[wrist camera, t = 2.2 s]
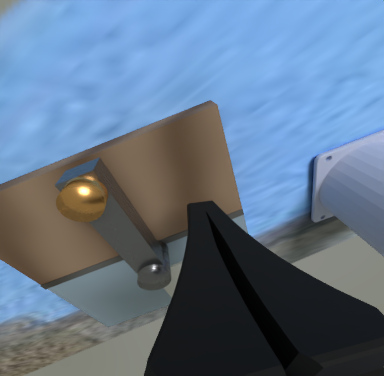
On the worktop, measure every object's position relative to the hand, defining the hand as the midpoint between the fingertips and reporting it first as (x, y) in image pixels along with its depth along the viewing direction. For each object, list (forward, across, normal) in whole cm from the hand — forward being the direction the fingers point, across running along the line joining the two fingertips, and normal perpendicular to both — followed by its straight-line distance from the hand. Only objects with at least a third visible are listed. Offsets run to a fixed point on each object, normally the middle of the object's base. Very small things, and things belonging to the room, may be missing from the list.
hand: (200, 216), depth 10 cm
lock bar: (+4, +4, +2) cm, 6 cm away
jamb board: (+5, +5, +2) cm, 8 cm away
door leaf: (+5, +3, +11) cm, 13 cm away
